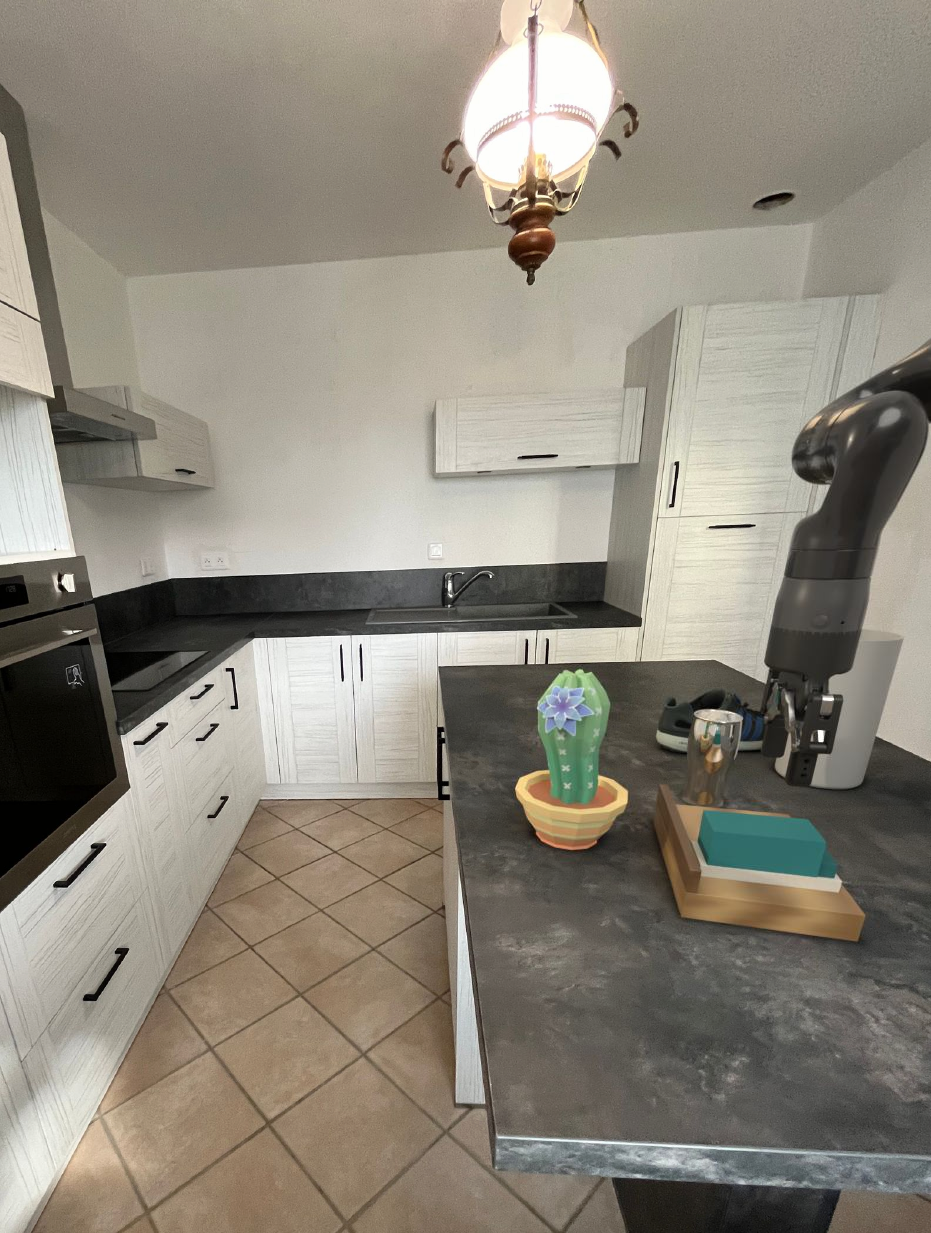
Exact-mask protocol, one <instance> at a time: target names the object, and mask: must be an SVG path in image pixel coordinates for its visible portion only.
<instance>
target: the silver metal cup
mask: <svg viewBox="0 0 931 1233" xmlns="http://www.w3.org/2000/svg"><path fill="white" fill-rule="evenodd" d="M742 721H743V717H742V716H741V715H739V714H736V713H733V712H729V711H724V710H715V709H705V710H698V711H696V712H694V717H693V720H692V724H691V728H690V732H689V737H688V744H687V753H686V761H687V762H686V764H687V777H686V783H685V787H684V789H683V792H682V795H681V799H682V800H683V801H684V802H686V803H687V804H689V805H690V806H700V807H711V808H721V807H723V806H725V805H724V804H725V795H724V794H725V786H726V783H727V779H728V777H729V776H730V775H729V774H730V772H731V770H732V768H733V765H734V763H735V761H736V757H737V755H738V753H739V751H738V748H739V744H740V738H741V730H742Z"/></svg>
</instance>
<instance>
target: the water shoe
mask: <svg viewBox="0 0 931 1233" xmlns="http://www.w3.org/2000/svg"><path fill="white" fill-rule="evenodd" d="M729 695H730V697H729ZM663 705H664V708H663V710H662V712H661V715H660V717H659V720H658V723H657V726H658V727H657V731H656V735H655V738H656V741H657V743H658V744H659V745H660V746H661V747H662V748H663V749H666V750H669V751H670V752H674V753H679V754H687V744H688V737H689V732H690V728H691V724H692V720H693V717H694V712H696V711H698V710H705V709H715V710H724V711H729V712H733V713H736V714H739V715H741V716H742V717H743V721H742V730H741V738H740V744H739V748H738V752H746V751H761V747H762V742H763V738H764V733H765V728H766V725H768V724H765V723H764V716H765V714H761V711H760V710H754V709H752V708H748V707H750V704H749V702H747V701H745V702H744V703H743V704H742V699H741V698H740V697H739V696H738V695H737V694H736V693H735V692H732V693H730V692H728V690H726V689H725V688H714V689H712V690H710V691H707V692H704V693H702V694H701V695H698V696H697V697H695V698H694V699H692V700H690V701H689V702H688V701H686V700H684V701H680V702H679V703H677V700H676V698H675V697H674V696H668V697H667V698H666V700H665V702H664V704H663Z"/></svg>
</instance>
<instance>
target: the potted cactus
mask: <svg viewBox="0 0 931 1233" xmlns="http://www.w3.org/2000/svg"><path fill="white" fill-rule="evenodd" d="M610 708H611V701H610V699H609V697H608V694H607V691H606V690H605V689H604V687H603V686H602V684H601V683H600V681H599V680H598V678H597V677H596V675H595V674H594V673H593V672H592V671H590V672H586V673H585V672H584V670H583V669H580V668H579V669H577V670H576V671H575V672H572V671H570V670H567V669H565V670H563V671H562V672H561V673H558V675H557V676H556V678H554V680H553V681H552V683H551V684H550V685H549V686H548V688H547V689H546V690H545V691H544V693H543V694H542V696H541V697H540V698H539V700H538V701H537V707H536V709H537V733H538V735H539V737H540V739H541V742H542V744H543V747H544V750H545V753H546V759H547V760H546V761H547V766H548V769H545V770H536V771H534V772H531V773H529V774H526V775H523V776H521V777H519V779H518V782H517V783H516V786H515V788H514V789H515V790H514V791H515V794H516V798H517V800H518V801H519V802H520V803H521V805H522V807H523V810H524V814H525V816H526V819H527V820H528V821H529V823H530V824H531V825H532V827H533V828H534V830H535V835H536V836H537V837H538V839H539V840H540V841H541V842H543V843H545V844H547V845H549V846H551V847H554V848H558V849H564V850H569V851H576V850H584V849H589V848H591V847H593V846H595V845H596V844H598V840H599V839H600V838H601V837H602V836H603V835H604V834H606V833H607V832H608V831H609V830H610V829H611V827H612V826H613V824H614V822H615V820H616V819H617V817H618V816H620V815H622V814H623V813H624V812H625V810H626V807H627V806H628V805H627V804H628V801H629V798H628V797H629V796H628V795H629V791H628V789H626V788H625V787H623V786H622V785H621V784H620V783H618V782H617V781H615V780H614V779H612V778H609V777H606V776H604V775H600V774H599V763H600V762H599V759H600V754H599V752H600V748H601V745H602V742H603V741H604V738H605V734H606V732H607V727H608V722H609V716H610V715H609V714H610Z"/></svg>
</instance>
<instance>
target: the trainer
mask: <svg viewBox="0 0 931 1233" xmlns="http://www.w3.org/2000/svg"><path fill="white" fill-rule="evenodd" d="M691 845H692V848H693V850H694V853H695V855H696V858H697V860H698V863H699V866H700V868H701V871H702V873H701V876H703V877H711V878H719V879H728V880H736V881H744V882H753V883H761V884H770V885H778V886H786V887H795V888H803V889H812V890H820V891H828V892H837V893H839V891H840V887H841V884H842V883H843V880H842V879H841V878H840V876H839V875H838V874H837V872H838V867H839V864H838V863H837V861H836V860H835V858H833V856H832V855H831V854H830V853H829V851H828V849H827V848H826V847H827V840H826V839H825V838H824V837H823V836H822V835H821V833H820V832H819V831H818V830H817V828H816V827H815V826H814V825H813V824H812V823H811V821H810V820H809V819H807V818H799V817H791V818H787V817H776V816H765V815H754V814H743V813H732V812H721V811H710V810H703V815H702V820H701V825H700V831H699V836H698V841H691ZM842 885H843V884H842Z"/></svg>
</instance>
